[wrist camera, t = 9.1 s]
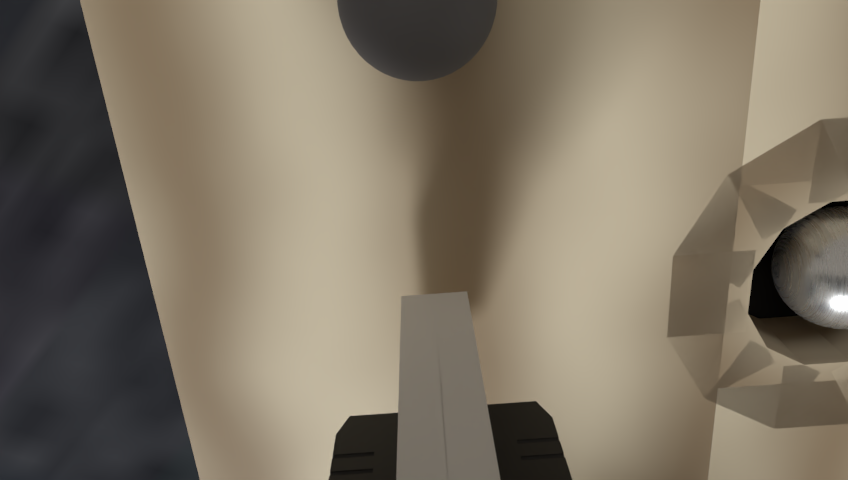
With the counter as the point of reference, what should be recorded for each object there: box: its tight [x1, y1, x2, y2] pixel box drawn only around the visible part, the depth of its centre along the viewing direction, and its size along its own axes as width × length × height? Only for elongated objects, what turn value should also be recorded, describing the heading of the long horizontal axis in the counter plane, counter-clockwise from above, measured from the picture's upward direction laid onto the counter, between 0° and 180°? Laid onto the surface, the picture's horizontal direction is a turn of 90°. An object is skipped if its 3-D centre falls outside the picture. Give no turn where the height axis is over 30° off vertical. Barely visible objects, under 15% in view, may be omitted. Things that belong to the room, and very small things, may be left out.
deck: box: [80, 0, 848, 480], centre depth 18 cm, size 24×20×2 cm
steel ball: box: [771, 206, 848, 329], centre depth 17 cm, size 3×3×3 cm
